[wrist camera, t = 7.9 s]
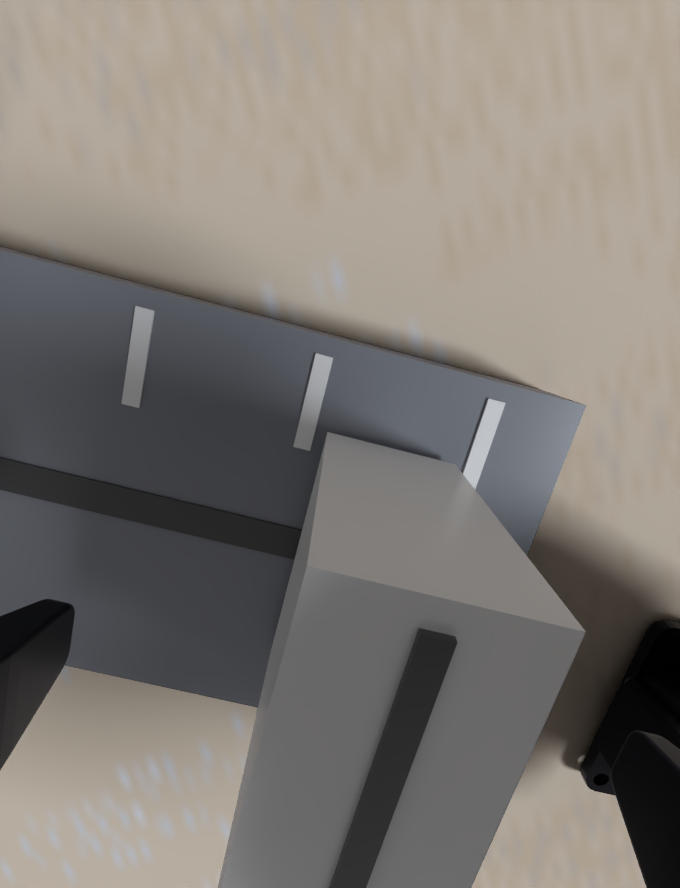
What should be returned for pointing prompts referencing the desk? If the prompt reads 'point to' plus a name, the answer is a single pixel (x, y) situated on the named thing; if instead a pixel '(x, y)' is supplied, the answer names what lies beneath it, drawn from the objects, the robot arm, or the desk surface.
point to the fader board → (211, 462)
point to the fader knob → (396, 683)
